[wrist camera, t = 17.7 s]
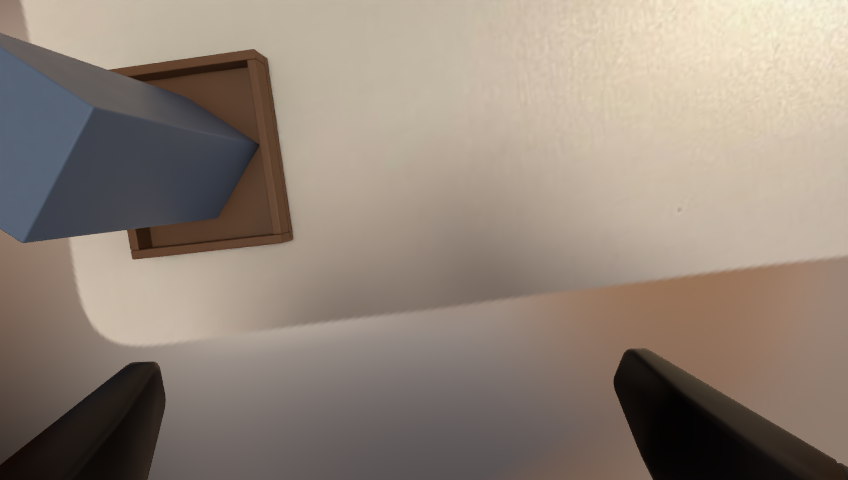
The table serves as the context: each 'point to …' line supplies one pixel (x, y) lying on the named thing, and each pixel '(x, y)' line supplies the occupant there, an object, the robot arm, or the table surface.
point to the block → (104, 150)
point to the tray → (263, 177)
